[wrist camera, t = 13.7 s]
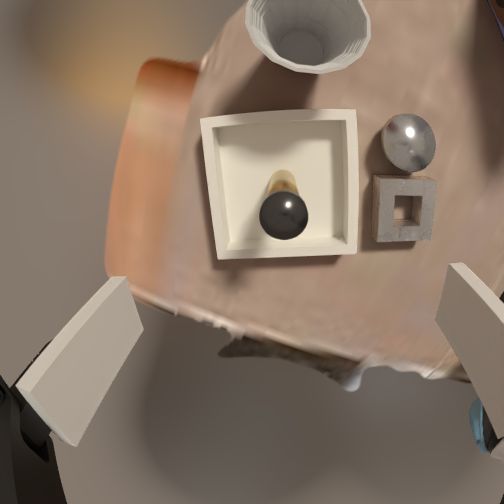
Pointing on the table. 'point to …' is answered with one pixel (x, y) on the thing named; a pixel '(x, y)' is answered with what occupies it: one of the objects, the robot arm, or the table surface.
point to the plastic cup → (309, 32)
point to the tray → (283, 158)
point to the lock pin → (283, 208)
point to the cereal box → (498, 13)
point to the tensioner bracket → (405, 181)
